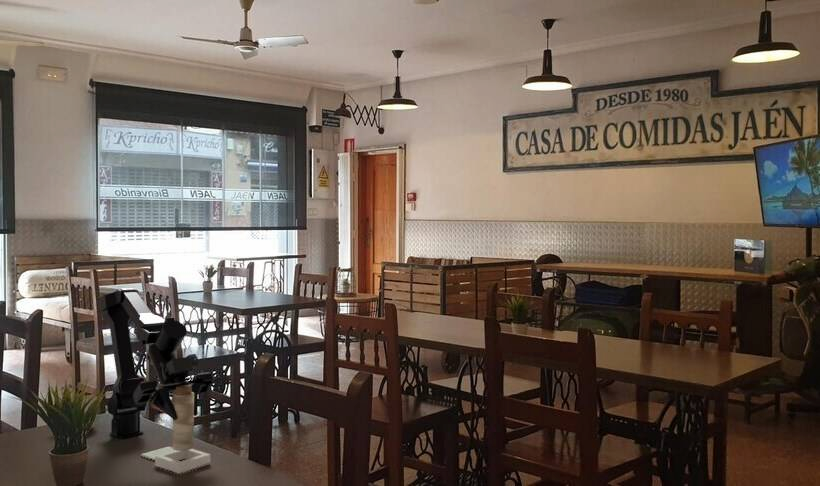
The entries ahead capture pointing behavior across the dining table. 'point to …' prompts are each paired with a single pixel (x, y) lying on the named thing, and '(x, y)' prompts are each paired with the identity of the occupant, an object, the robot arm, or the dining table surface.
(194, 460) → the pocket holder
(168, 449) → the rubber mat
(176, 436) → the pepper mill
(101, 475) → the dining table surface
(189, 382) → the robot arm
